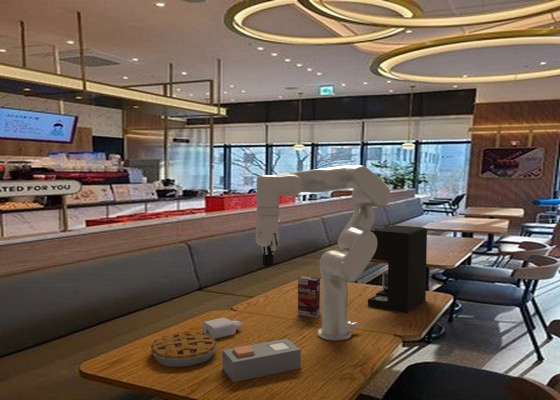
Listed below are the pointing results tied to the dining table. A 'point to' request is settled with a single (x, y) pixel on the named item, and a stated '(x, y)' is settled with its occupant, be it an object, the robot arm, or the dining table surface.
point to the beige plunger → (279, 346)
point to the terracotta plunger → (243, 351)
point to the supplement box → (308, 296)
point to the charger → (220, 327)
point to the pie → (183, 349)
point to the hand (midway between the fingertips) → (268, 265)
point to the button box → (261, 361)
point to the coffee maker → (401, 267)
